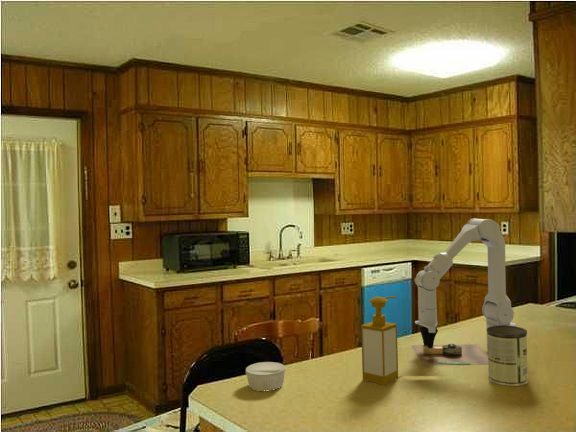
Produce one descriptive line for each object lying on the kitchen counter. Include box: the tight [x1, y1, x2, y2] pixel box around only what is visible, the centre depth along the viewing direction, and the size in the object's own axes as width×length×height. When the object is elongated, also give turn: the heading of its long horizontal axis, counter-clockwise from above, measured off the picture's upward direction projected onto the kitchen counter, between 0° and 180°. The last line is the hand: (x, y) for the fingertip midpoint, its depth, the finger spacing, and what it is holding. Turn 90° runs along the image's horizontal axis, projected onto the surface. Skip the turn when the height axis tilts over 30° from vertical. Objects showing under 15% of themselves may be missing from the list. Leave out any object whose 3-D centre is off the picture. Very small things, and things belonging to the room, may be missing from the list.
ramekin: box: [245, 361, 286, 392], centre depth 150 cm, size 11×11×5 cm
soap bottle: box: [360, 296, 399, 386], centre depth 155 cm, size 7×13×24 cm, turn 137°
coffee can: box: [486, 326, 529, 387], centre depth 148 cm, size 10×10×14 cm
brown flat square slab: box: [411, 343, 488, 366], centre depth 171 cm, size 22×22×1 cm
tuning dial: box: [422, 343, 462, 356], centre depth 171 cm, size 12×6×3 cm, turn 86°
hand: (428, 349), depth 174 cm, fingers closed
